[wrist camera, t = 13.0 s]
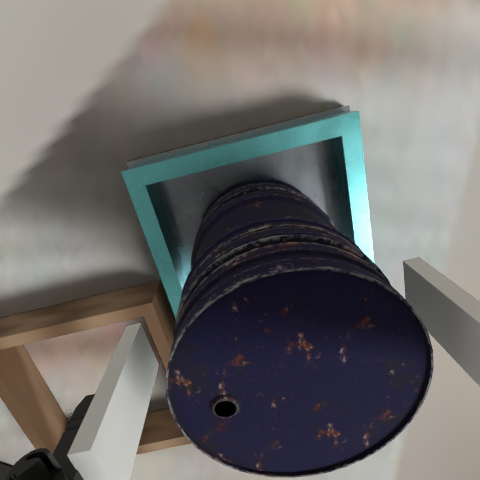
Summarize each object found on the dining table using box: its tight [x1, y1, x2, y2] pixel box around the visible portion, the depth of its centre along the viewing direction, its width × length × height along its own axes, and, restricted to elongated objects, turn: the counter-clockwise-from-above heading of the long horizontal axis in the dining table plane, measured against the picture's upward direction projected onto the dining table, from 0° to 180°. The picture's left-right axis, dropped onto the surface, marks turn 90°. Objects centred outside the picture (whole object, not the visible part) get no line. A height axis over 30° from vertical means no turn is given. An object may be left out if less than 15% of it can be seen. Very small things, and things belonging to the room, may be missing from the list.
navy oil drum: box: [166, 178, 433, 477], centre depth 19 cm, size 10×10×15 cm
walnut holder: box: [0, 281, 191, 455], centre depth 29 cm, size 15×15×4 cm
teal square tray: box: [121, 106, 374, 318], centre depth 25 cm, size 16×16×4 cm
